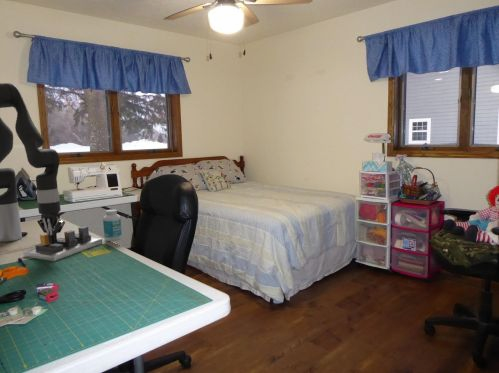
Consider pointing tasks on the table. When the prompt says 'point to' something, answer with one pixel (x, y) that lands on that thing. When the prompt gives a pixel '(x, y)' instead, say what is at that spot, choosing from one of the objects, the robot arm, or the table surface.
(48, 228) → the robot arm
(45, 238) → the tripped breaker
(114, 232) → the pill bottle
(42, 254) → the panel
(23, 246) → the table surface
